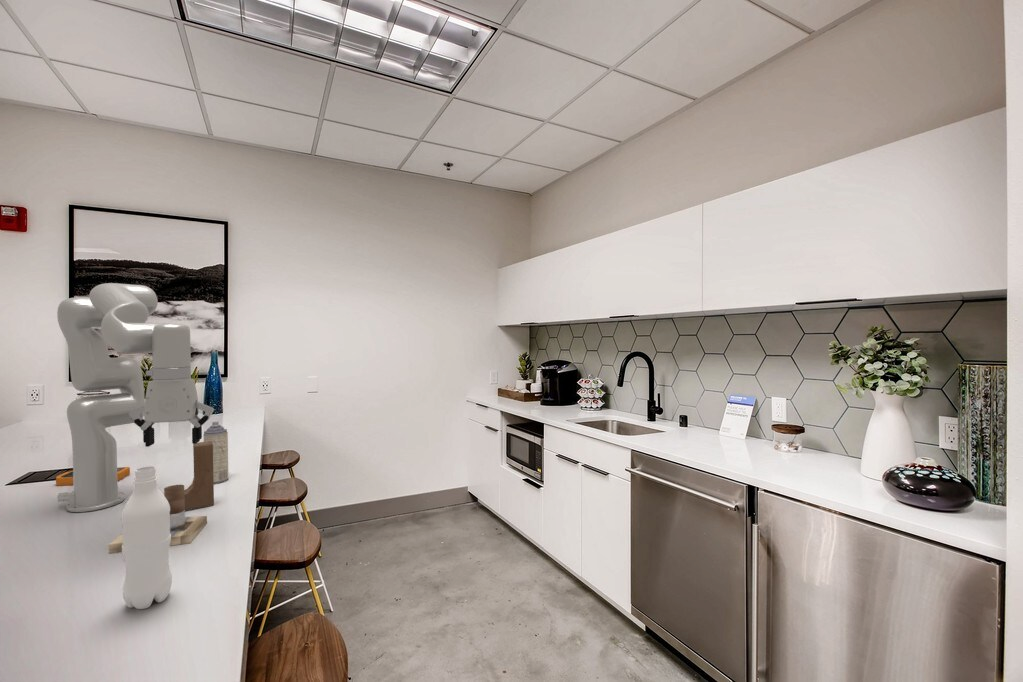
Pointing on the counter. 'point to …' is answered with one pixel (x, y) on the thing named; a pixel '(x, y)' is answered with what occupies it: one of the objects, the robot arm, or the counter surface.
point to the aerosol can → (218, 451)
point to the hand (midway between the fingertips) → (173, 443)
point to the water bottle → (146, 542)
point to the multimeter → (68, 476)
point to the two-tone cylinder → (176, 507)
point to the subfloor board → (182, 537)
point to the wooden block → (201, 478)
